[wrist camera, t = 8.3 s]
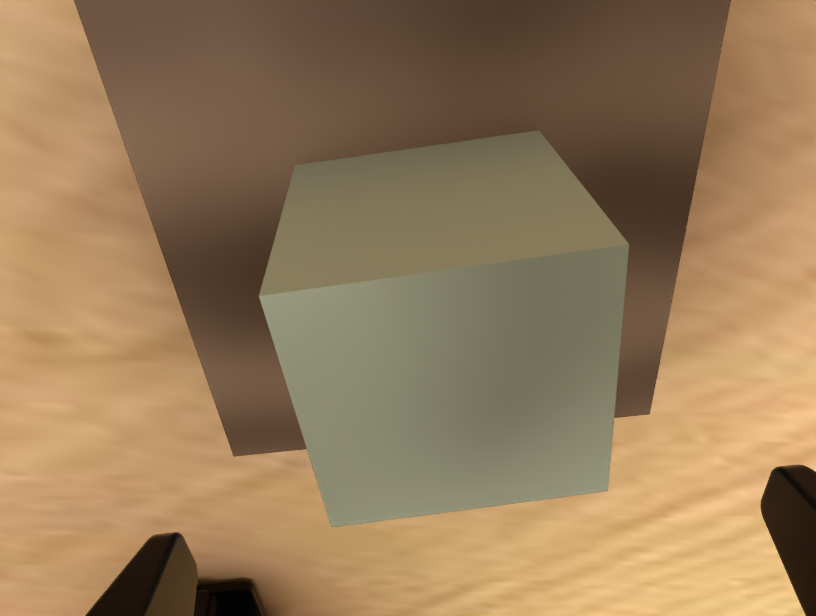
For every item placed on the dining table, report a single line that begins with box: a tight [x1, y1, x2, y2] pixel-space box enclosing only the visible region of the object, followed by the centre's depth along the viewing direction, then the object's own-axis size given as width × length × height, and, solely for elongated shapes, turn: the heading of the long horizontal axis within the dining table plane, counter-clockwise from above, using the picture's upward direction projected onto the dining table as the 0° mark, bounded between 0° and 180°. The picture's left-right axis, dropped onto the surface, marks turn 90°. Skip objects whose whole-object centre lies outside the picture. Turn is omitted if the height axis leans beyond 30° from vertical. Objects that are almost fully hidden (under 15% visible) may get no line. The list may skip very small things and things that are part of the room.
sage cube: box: [259, 130, 629, 527], centre depth 14 cm, size 6×6×6 cm
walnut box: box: [74, 0, 731, 456], centre depth 18 cm, size 14×14×4 cm
